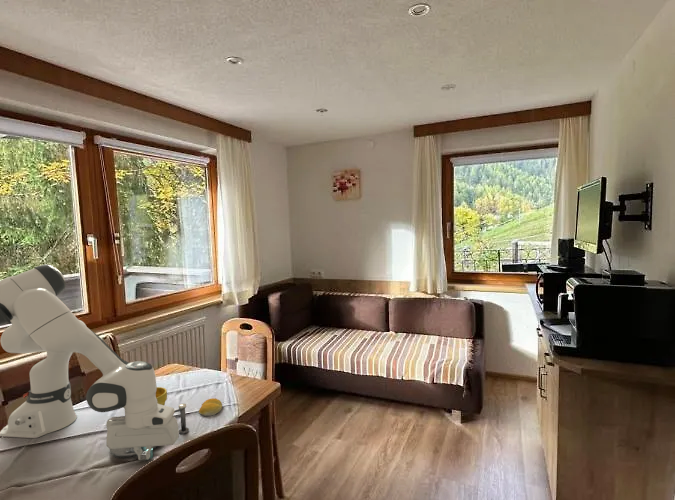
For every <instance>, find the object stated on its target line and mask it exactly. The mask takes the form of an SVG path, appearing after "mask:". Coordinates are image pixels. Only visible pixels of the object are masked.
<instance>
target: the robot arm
mask: <svg viewBox="0 0 675 500" xmlns="http://www.w3.org/2000/svg"><path fill="white" fill-rule="evenodd" d="M66 287H67V283H66V279H65V276H64V274H63V273H62V272H61V271H60V269H57V268H56V267H54V265H50V264H46V263H45V264H41V265H37V266H35V267H34V268H32V269H29V270H26V271H23V272H21V273H19V274H16V275H12V276H8V277H5V278H3V279H2V280H0V326H2V325H5V324H8V325H9V324H11V325H10V326H8V327H7V328H5V329H4V330H3V332H2V334H1V337H0V345H1V347H2V349H3V350H4V351H5V352H7V353H9V354H10V353H11V354H30V353H31V354H32V353H40V352H46V358H43V359H42V360H40V361H39V362H37V363H36V364H33V366H32V367H31V369H30V370H29V382H30V383H29V384H30V389H29V390H28V391H27V392H26V393H24V394H23V395H22V396H23V397H22V398H23V399H24V398H26V400H25V401H24V402H22V404H20V406H18V407H17V408H15V410H14V411H12V412H11V413H10V415H9V417H8V420H7V424H6V426H3V428H2V429H1V430H0V437H9V438H23V439H24V438H25V439H26V438H28V439H37V438H39V437H43V436H45V435H47V434H50V433H53V432H56V431H58V430H62V429H63V428H65V427H68V426H69V425H71V424H73V423H74V422H75V421H76V419H77V418H78V416H77V413H76V412H75V409H74V406H73V401H72V398H71V397H72V387H71V382H70V381H69V363H70V362H69V361H70V360H71V356H72V355H73V354H74V353H78V354H81V355H83V356H85V357H86V358H87V359H88V360H89V361H90V363H92V364H93V365H94V366H95V367H96V368H97V369H98V371H99V370H100V372H101V373H102V376H101V377H100V378H99V379H97V380H96V381H94V383H92V385H91V386H90V387H89V388H88V390H87V391H86V394H85V395H86V396H85V397H86V403H87V405H88V406H89V408H91V409H92V410H93V411H95V412H98V413H107V412H113V411H117V410H120V409H122V408H123V410H124V415H122V416H112V417H110V418H109V419H107V421H106V423H105V424H106V430H107V432H106V447H107V448H108V449H109V450H110V449H117V448H133V447H134V451H135V452H136V454H137V455H138V456H137V458H138V460H139V461H143V460H144V461H147V460H146V459H148V460H150V459H149V458H150V451H151V449H152V447H153V446H157V447H163V446H164V447H165V446H173V445H175V444H176V442H177V441H178V439H179V436H180V434H179V430H180V429H179V424H178V420H177V418H176V417H175V416H174V415H175V413H174V409H175V408H174V407H171V406H167V405H161V404H158V403H157V399H156V390H157V377H156V373H155V369H154V366H153V365H152V364H151V363H150V362H147V361H143V360H141V361H140V360H136V361H131V362H128V361H126V360H124V359H123V358H122V357H121V356H119V354H117V353H116V352H115V351H114V350H113V348H111V347H110V346H109V345H108V343H106V342H105V341H104V340H103V339H102V338H101V337H100V336H99V335H98V334H97V333H95V332H94V331H93V330H92V329H90V328H89V327H87V325H86V323H85V322H84V321H83V320H80V319H79V318H78V317H76V314H74V313H73V312H72V310H71V309H70V308H69V307H68V306H67V305H66V304H65V303H64V302H63V301H62V300H61V299H60V298H59V297H58V295H60V294H61V293H63V291H65V289H66ZM141 447H146V449H148V451H142V449H141Z"/></svg>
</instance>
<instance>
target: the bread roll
mask: <svg viewBox="0 0 675 500" xmlns="http://www.w3.org/2000/svg"><path fill="white" fill-rule="evenodd" d="M222 409H223V403H222V401H221V400H220V399H218V398H208V399H206V400H205V401H204V402H202V403H201V407H200V408H199V410H198V413H199V414H200V415H202V416H204V417H211V416H213V415H214V416H215V415H216V414H218V413H220V412H221V410H222Z"/></svg>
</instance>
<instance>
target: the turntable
mask: <svg viewBox="0 0 675 500" xmlns="http://www.w3.org/2000/svg"><path fill="white" fill-rule="evenodd" d="M157 447H158V446H153V447H152V449H151V451H150V458H149V459H146V460H145V461H148V460H151V459H153V458H154V451H153V450H155V449H156V448H157ZM141 449H142V451H148V449H146V447H141ZM109 453H110V455H111V456H112V457H113V458H117V459H130V458H136V457H138V455H137V454H136V452H135V451H134V447H133V448H117V449H109Z"/></svg>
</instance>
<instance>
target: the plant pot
mask: <svg viewBox="0 0 675 500" xmlns="http://www.w3.org/2000/svg"><path fill="white" fill-rule="evenodd" d="M156 399H157V403H158V404H161V405H164V406H166V405H165V404H166V401H167V400H168V391H167V389H166V388H165V387H161V386H158V387H157V390H156Z"/></svg>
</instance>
